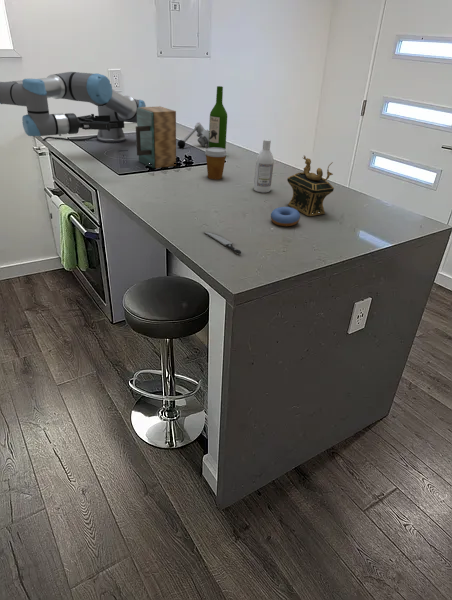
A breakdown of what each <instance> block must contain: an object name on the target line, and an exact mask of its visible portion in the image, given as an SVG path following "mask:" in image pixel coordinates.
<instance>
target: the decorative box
mask: <svg viewBox="0 0 452 600" xmlns="http://www.w3.org/2000/svg"><path fill="white" fill-rule="evenodd" d="M302 159H303V160H305V161H304V164H305V167H304V168H303V172H302V171H301V172H297V173H295V174H293V175H291V176H288V177H287V180H286V181H287V183H288V184H289V185H290V187H291V189H292V197H291V198H290V200H289V202H288V204H287V205H288V207H291V208H294V209H296V210H297V211H298V212H299V213H300V214H303V215H306V216H307V217H313V216H320V215H324V214H326V213H325V212H326V211H325V208H324V200H325V198H326V197H327V196H329V195H330V194H332V193H333V192H334V189H335V187H334V186H333V185H332V184H331V183H330V182H329V181H327V180H329V179H330V176H333V175H334V173H333V172H330V170H329V168H330V166H331V165H332V164H333V163H334V162H333V161H331V162H330V163H329V164H328V166H327V170H326V175H327V176H326V178H323V175H324V172H323V169H322V168H321V167H318V168H316V173H314V172H310V171H311V167H312V166H311V163H312V160H311V158H308V157H306V155H303V157H302ZM318 212H320V213H318ZM312 213H313V214H312Z"/></svg>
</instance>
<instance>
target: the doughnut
mask: <svg viewBox="0 0 452 600" xmlns="http://www.w3.org/2000/svg"><path fill="white" fill-rule="evenodd" d="M300 214H301V213H300V211H298V210H296V209H294V208H292V207H290V206H279V207H276V208H274V209H273V210H272V212H271V213H270V220H271V222H272V223H273V224H274V225H277V226H279V227H292V226H295V225H296V224H298V223H299V221H300V220H301V215H300Z"/></svg>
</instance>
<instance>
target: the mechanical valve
mask: <svg viewBox="0 0 452 600" xmlns="http://www.w3.org/2000/svg"><path fill="white" fill-rule="evenodd" d="M195 132H197V133H196V137H198V138H197V142H198V144H199V145H200V146H201V147H205V146H208V147H209V129H205V128H204V126H203V125H202V123H200V122H197V123H195V125H194V128H193V129H192V130H191V131H190V132H189V133H188V134H187V135H186V136H185V138H183V139H180V140H178V141H177V147H178V148H179V149H184V148H185V146H186V142H187V141H188V140H189V139H190V137H192V136H193V135H194V133H195Z"/></svg>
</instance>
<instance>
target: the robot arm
mask: <svg viewBox="0 0 452 600" xmlns="http://www.w3.org/2000/svg"><path fill="white" fill-rule="evenodd" d="M51 98H52V99H55V100H68V101H75V102H83V103H90V104H92V105H94V106H96V107H97V114H98V115H95V114H94V113H90V114H88V115H87V114H86V115H82V116H81V115H80V116H77V115H76V114H75V113H73V112H72V113H71V112H69V113H67V112H66V113H63V112H61V113H50V109H49V101H48V99H51ZM0 105H9V106H19V107H26V111H27V113H26V114H24V115H22V118H21V119H22V127H23V130H24V133H25V134H26V135H27V136H28V137H44V138H43V139H42V142H45V141H46V140H48V139H51V140H62V141H63V140H64V141H68V142H69V141H70V142H71V141H72V142H77V141H78V142H80V141H89V140H93V139H97V141H98V142H101V143H108V144H110V143H112V144H114V143H123V142H125V141H126V136H125V135H126V134H125V133H124V130H123V129H125V123H131V124H137V108H139V107H147V105H146V102H145V101H144V100H143V99H136V98H133V97H132V96H131V95H122V94H121V93H119V92H118V91H116V90H115V89H113V85H112V83H111V81H110V79H109V78H108V77H107V76H106V75H104V74H101V73H91V72H78V71H77V72H76V71H65V72H60V73H53V74H49V75H48V76H46V77H41V78H40V77H39V78H24V79H22V80H21V79H20V80H11V81H0ZM80 129H81V130H85V131H86V130H87V131H88V130H94V131H95V130H97V135H93V136H90V137H86V138H66V137H62V135H68V134H69V135H76V134H78V133H79V131H80ZM55 136H58V137H55ZM49 215H50V219H53V213H51V212H50V213H49Z"/></svg>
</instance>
